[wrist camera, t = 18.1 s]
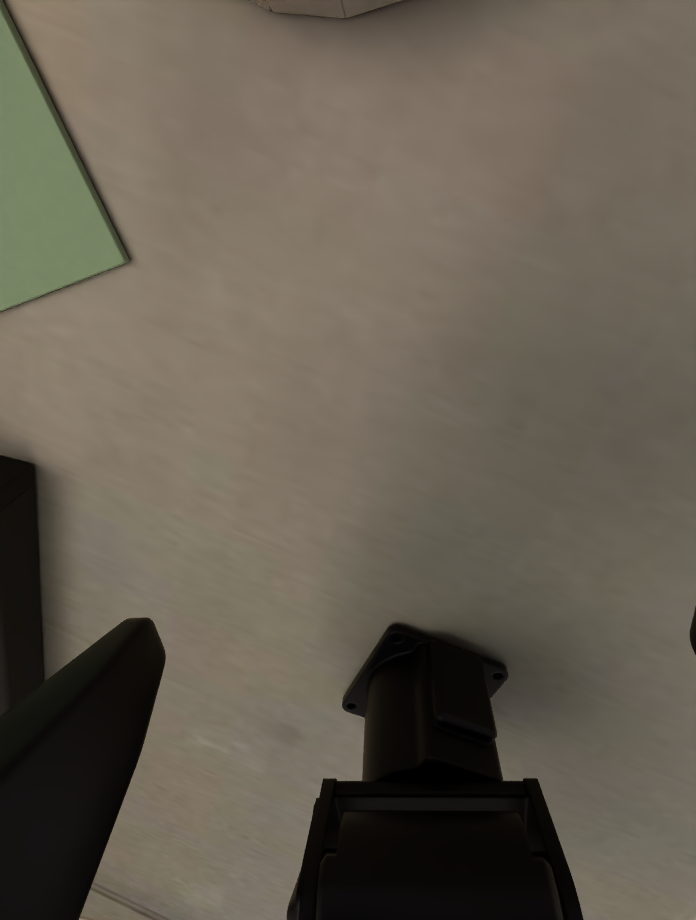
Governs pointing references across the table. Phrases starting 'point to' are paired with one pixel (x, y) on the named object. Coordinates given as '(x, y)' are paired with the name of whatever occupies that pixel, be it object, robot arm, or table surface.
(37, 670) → the external hard drive
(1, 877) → the robot arm
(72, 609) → the table surface
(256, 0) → the bowl
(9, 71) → the mat
